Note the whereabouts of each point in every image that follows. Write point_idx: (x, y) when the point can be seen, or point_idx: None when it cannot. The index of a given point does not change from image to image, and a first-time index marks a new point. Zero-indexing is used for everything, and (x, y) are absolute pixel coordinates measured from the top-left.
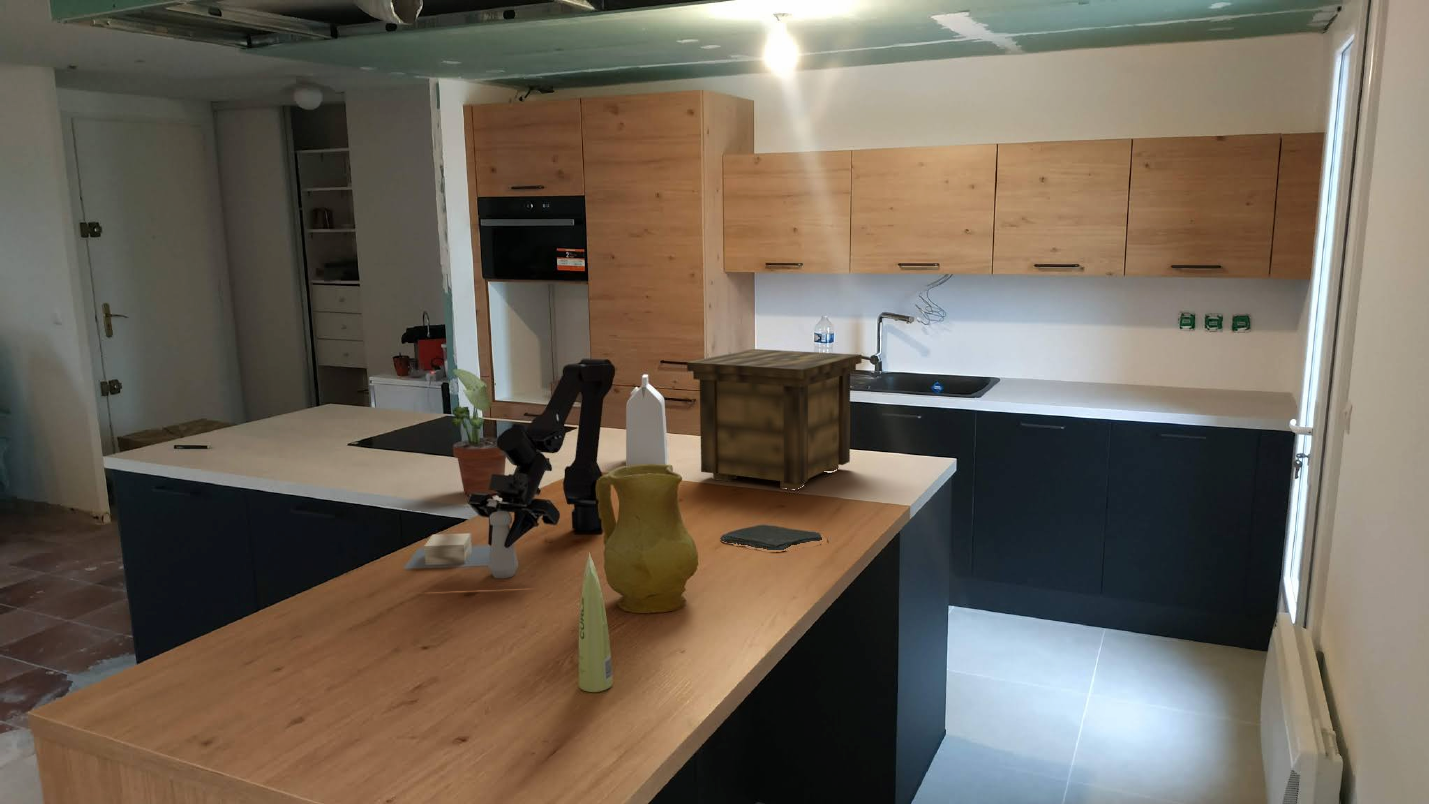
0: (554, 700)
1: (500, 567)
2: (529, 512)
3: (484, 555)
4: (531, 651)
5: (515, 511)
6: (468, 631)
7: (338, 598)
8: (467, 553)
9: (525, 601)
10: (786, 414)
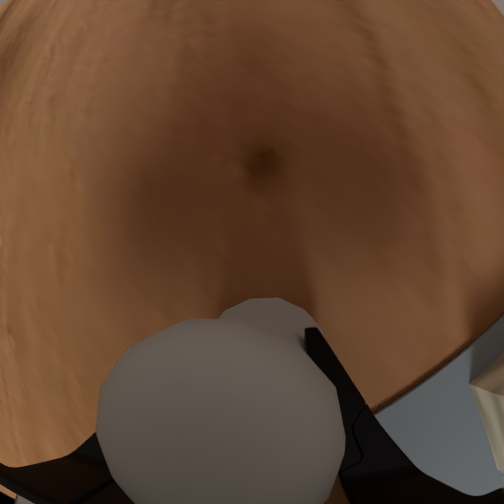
0: (5, 34)
1: (235, 305)
2: (15, 501)
3: (449, 470)
4: (29, 63)
5: (62, 495)
6: (132, 37)
7: (498, 62)
8: (491, 426)
9: (86, 193)
10: None
